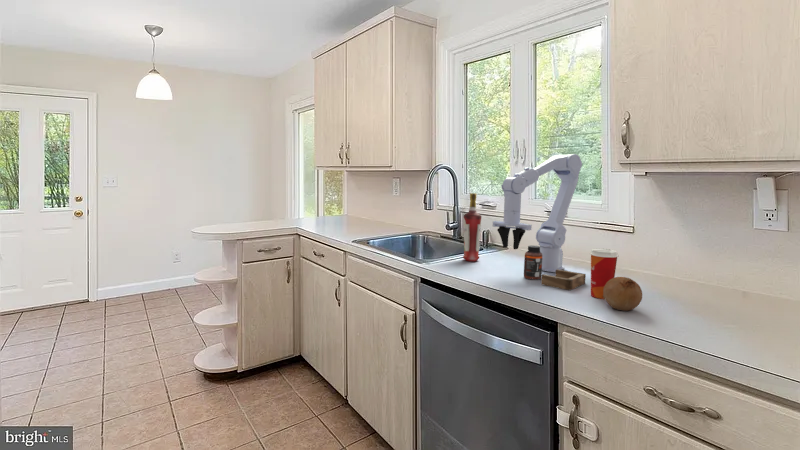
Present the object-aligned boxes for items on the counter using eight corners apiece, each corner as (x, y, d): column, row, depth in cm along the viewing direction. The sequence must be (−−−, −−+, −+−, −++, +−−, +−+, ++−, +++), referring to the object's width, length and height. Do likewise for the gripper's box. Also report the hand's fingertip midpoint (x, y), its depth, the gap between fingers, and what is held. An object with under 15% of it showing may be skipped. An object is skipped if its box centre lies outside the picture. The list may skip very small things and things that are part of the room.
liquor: (461, 258, 180) (462, 192, 177) (478, 258, 180) (480, 193, 177) (463, 262, 173) (465, 193, 169) (481, 262, 173) (483, 194, 169)
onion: (631, 324, 112) (645, 296, 106) (595, 308, 116) (606, 281, 111) (637, 303, 119) (650, 276, 113) (602, 289, 123) (613, 263, 117)
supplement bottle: (542, 280, 145) (544, 248, 143) (524, 279, 146) (525, 247, 144) (540, 276, 150) (541, 245, 149) (522, 275, 152) (524, 244, 150)
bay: (557, 278, 148) (557, 269, 148) (585, 283, 142) (585, 274, 141) (541, 284, 139) (541, 275, 139) (570, 290, 133) (570, 280, 132)
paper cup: (592, 291, 132) (595, 247, 130) (619, 296, 127) (622, 250, 125) (582, 296, 127) (585, 250, 125) (609, 302, 121) (613, 254, 119)
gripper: (488, 210, 154) (487, 246, 155) (525, 212, 144) (523, 252, 145) (498, 208, 159) (497, 244, 160) (535, 211, 149) (533, 249, 150)
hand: (510, 248), depth 153 cm, fingers open, 4 cm apart
